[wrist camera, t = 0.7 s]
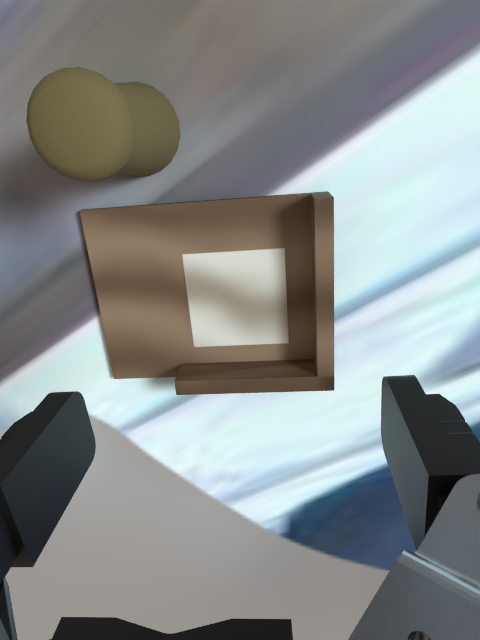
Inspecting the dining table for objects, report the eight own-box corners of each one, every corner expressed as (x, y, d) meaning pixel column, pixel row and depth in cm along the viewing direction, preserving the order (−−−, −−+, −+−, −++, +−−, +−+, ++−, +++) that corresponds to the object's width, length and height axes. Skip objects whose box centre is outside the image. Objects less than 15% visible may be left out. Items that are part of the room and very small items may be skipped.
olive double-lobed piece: (94, 171, 32) (10, 185, 22) (93, 77, 30) (-2, 44, 20) (177, 181, 32) (131, 199, 22) (182, 86, 30) (132, 58, 19)
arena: (82, 209, 33) (61, 217, 30) (327, 191, 31) (333, 197, 28) (116, 375, 38) (101, 397, 35) (329, 368, 36) (334, 390, 33)
